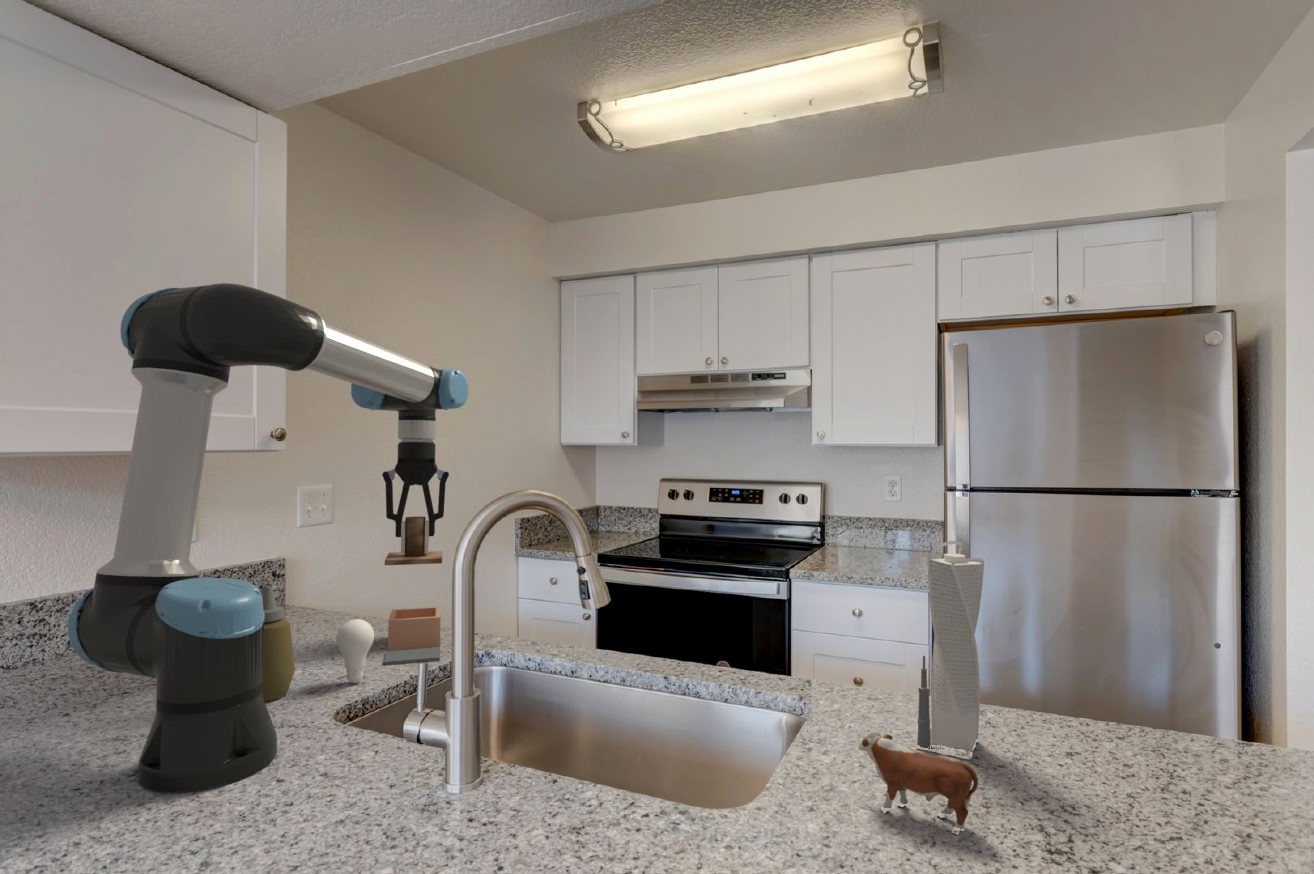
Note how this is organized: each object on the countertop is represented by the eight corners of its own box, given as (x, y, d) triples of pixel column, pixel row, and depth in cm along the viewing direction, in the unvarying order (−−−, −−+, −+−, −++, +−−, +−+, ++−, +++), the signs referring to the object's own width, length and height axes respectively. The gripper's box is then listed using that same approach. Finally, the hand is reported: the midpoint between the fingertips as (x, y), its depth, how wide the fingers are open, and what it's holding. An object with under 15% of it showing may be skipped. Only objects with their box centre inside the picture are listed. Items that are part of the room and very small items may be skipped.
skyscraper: (927, 727, 103) (927, 538, 103) (987, 739, 99) (987, 542, 99) (916, 748, 96) (916, 545, 96) (980, 762, 91) (980, 549, 92)
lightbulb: (335, 679, 123) (336, 617, 123) (373, 675, 125) (373, 613, 125) (335, 691, 117) (336, 625, 117) (374, 685, 120) (375, 621, 120)
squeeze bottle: (251, 709, 109) (252, 594, 109) (229, 698, 114) (230, 588, 114) (303, 695, 115) (304, 586, 115) (281, 684, 120) (281, 580, 120)
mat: (384, 664, 131) (384, 661, 131) (387, 654, 138) (387, 651, 138) (439, 660, 134) (439, 657, 134) (440, 649, 140) (440, 646, 140)
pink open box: (388, 650, 140) (388, 620, 140) (392, 637, 149) (392, 609, 150) (440, 646, 143) (440, 617, 143) (440, 633, 152) (440, 606, 152)
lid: (384, 565, 139) (385, 520, 139) (388, 557, 150) (389, 515, 150) (442, 563, 142) (442, 519, 142) (442, 555, 153) (443, 514, 153)
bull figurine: (863, 787, 85) (863, 720, 85) (981, 826, 76) (981, 752, 76) (848, 802, 81) (848, 732, 81) (970, 844, 73) (970, 766, 73)
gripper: (458, 442, 153) (456, 548, 152) (375, 440, 148) (373, 551, 147) (459, 441, 145) (457, 553, 145) (371, 440, 140) (369, 556, 140)
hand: (414, 552), depth 146 cm, fingers closed on lid, 4 cm apart
